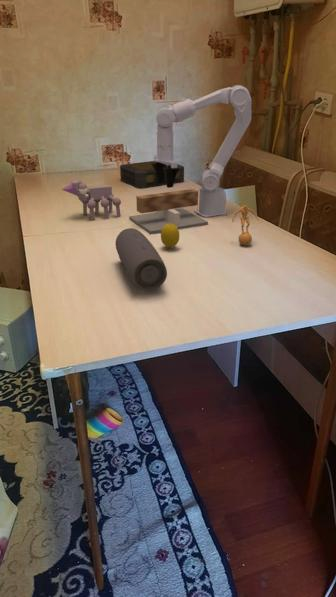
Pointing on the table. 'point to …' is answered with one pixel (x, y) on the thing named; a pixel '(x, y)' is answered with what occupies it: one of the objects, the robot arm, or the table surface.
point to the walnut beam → (167, 200)
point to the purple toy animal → (94, 197)
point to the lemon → (170, 235)
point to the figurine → (245, 236)
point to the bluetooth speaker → (140, 259)
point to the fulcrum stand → (167, 220)
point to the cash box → (145, 175)
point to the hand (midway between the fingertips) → (165, 184)
